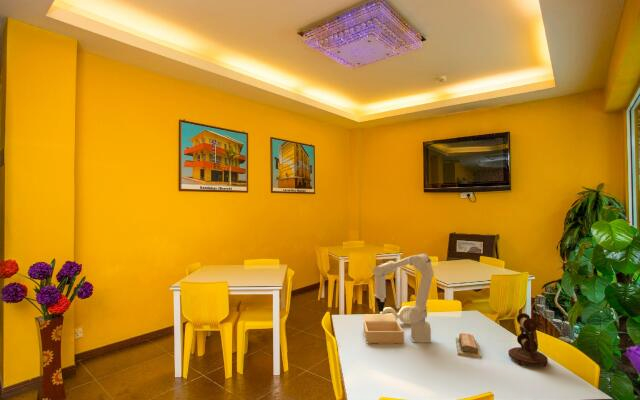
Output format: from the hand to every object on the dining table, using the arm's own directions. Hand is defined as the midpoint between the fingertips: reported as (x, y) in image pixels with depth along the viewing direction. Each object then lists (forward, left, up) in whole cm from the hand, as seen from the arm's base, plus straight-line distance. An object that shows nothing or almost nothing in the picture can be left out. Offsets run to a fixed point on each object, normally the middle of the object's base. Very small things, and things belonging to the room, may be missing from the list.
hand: (380, 311), depth 184 cm
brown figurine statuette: (-59, +36, -11) cm, 70 cm away
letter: (-11, -9, -11) cm, 18 cm away
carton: (+1, +11, -10) cm, 15 cm away
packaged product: (-38, +24, -11) cm, 46 cm away
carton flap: (+1, +1, -3) cm, 4 cm away
